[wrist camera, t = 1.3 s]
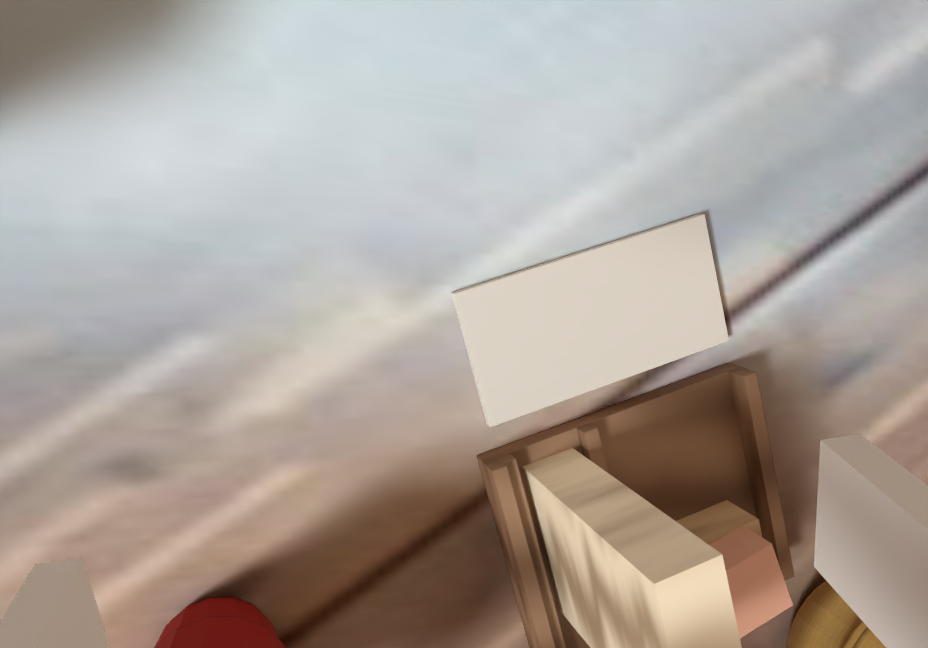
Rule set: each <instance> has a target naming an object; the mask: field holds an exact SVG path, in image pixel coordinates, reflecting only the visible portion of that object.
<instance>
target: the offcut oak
mask: <svg viewBox="0 0 928 648" xmlns="http://www.w3.org/2000/svg"><path fill="white" fill-rule="evenodd" d="M676 522H677V523H679V524H680V525H682V526H683V527H684V528H686V529H687V530H689V531H690V532H691V533H693V534H694V535H696V536H697V537H699V538H700V539H701V540H703V541H704V542H706V543H707V544H708V545H710V544H712V543H713V542H715V541H717V540H718V539H720V538H722V537H723V536H725V535H727V534H729V533H730V532H732V531H734V530H735V529H737V528H739V527H740V526H742V525H743V526H745V527H746V528H748V529H749V530H751V531H753V532H754V533H756V534H757V535H759V536H761V537H762V533H761V528H760V523H759V519H758V518H756V517H755V516H753V515H751V514H749V513H748V512H746V511H744V510H743V509H741V508H739V507H738V506H736V505H734V504H733V503H731V502H729V501H728V500H725V501H723V502H721V503H718V504H716V505H713V506H711V507H709V508H706V509H704V510H701V511H699V512H697V513H694V514H692V515H689V516H687V517H684V518H682V519H680V520H677V521H676Z"/></svg>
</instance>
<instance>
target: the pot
mask: <svg viewBox="0 0 928 648" xmlns="http://www.w3.org/2000/svg"><path fill="white" fill-rule="evenodd" d="M786 648H886V647H885V646H884V645H883V644H882V642H881V641H880V640H879V639H878V638H877V637H876V636H875V635H874V633H873V632H872V631H871V630H870V629H869V628H868V627H867V626H866V624H865V623H864V622H863V621H862V620H861V619H860V618H859V617H858V615H857V614H856V613H855V612H854V611H853V610H852V609H851V608H850V607H849V605H848V604H847V603H846V602H845V601H844V600H843V599H842V598H841V596H840V595H839V594H838V593H837V592H836V591H835V590H834V589H833V587H832V586H831V585H830V584H829V583H828V582H827V581H825V582H823V583H822V584H821V585H819V586H818V587H817V588H816V589H815V590H814V591H813V592H812V593H811V594H810V595H809V596H808V597H807V598H806V599H805V601H804V602H803V604H802V605H801V607H800V609H799V610H798V612H797V614H796V616H795V618H794V620H793V623H792V625H791V628H790V632H789V636H788V641H787V647H786Z"/></svg>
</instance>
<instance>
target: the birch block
mask: <svg viewBox="0 0 928 648" xmlns="http://www.w3.org/2000/svg"><path fill="white" fill-rule="evenodd" d="M523 471H524V475H525V478H526V482H527V486H528V490H529V494H530V497H531V501H532V505H533V509H534V513H535V516H536V520H537V524H538V528H539V532H540V535H541V539H542V543H543V547H544V551H545V554H546V558H547V562H548V566H549V570H550V573H551V577H552V581H553V585H554V589H555V592H556V596H557V600H558V604H559V608H560V611H561V612H562V614H563V615H564V616H565V617H566V619H567V620H568V621H569V622H570V623H571V625H572V626H573V627H574V628H575V630H576V631H577V632H578V633H579V634H580V636H581V637H582V638H583V639H584V640H585V642H586V643H587V644H588V645H589V647H590V648H742V646H741V642H740V637H739V632H738V627H737V622H736V618H735V613H734V608H733V603H732V598H731V594H730V589H729V584H728V579H727V574H726V570H725V565H724V560H723V555H722V554H721V553H720V552H718V551H717V550H715V549H714V548H713V547H711V546H710V545H708V544H707V543H706V542H704V541H703V540H701V539H700V538H699V537H697V536H696V535H694V534H693V533H691V532H690V531H689V530H687V529H686V528H684V527H683V526H682V525H680V524H679V523H677V522H676V521H675V520H673V519H672V518H670V517H669V516H668V515H666V514H665V513H663V512H662V511H661V510H659V509H658V508H656V507H655V506H654V505H652V504H651V503H649V502H648V501H647V500H645V499H644V498H642V497H641V496H640V495H638V494H637V493H635V492H634V491H632V490H631V489H630V488H628V487H627V486H625V485H624V484H623V483H621V482H620V481H618V480H617V479H616V478H614V477H613V476H611V475H610V474H609V473H607V472H606V471H604V470H603V469H602V468H600V467H599V466H597V465H596V464H595V463H593V462H592V461H590V460H589V459H588V458H586V457H585V456H583V455H582V454H581V453H579V452H578V451H576V450H575V449H573V448H570V449H568V450H565V451H562V452H560V453H557V454H554V455H552V456H549V457H546V458H544V459H541V460H538V461H536V462H533V463H531V464H528V465H525V466H523Z"/></svg>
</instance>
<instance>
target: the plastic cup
mask: <svg viewBox="0 0 928 648" xmlns="http://www.w3.org/2000/svg"><path fill="white" fill-rule="evenodd" d="M154 648H285V646H284V644H283V643H282V642H281V641H280V640H279V638H278V636H277V634H276V632H275V630H274V628H273V626H272V623H271V622H270V621H269V620H268V619H267V618H266V617H265V616H264V615H263V614H262V613H261V612H260V611H259V610H258V609H257V608H256V607H255V606H254V605H253V604H250V603H247V602H245V601H242V600H239V599H236V598H234V597H212V598H207V599H205V600H202V601H200V602H197V603H194V604H192V605H189V606H187V607H186V608H185V609H184V610H183V611H182V612H180V613H179V614H178V615H177V616H176V617H175V618H173V619H172V620H171V621H170V623H169V624H167V625H166V627H165V629H164V630H163V632H162V634H161V636H160V638H159V640H158V642H157V643H156V645H155V647H154Z"/></svg>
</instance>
